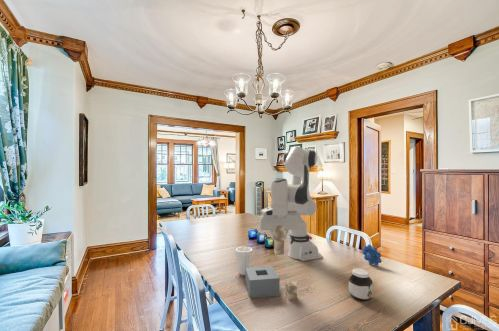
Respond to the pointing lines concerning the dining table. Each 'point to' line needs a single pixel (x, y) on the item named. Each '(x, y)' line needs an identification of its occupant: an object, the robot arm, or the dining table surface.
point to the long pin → (279, 240)
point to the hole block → (262, 281)
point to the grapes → (371, 255)
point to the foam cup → (243, 258)
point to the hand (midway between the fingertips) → (278, 238)
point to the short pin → (291, 290)
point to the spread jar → (360, 285)
